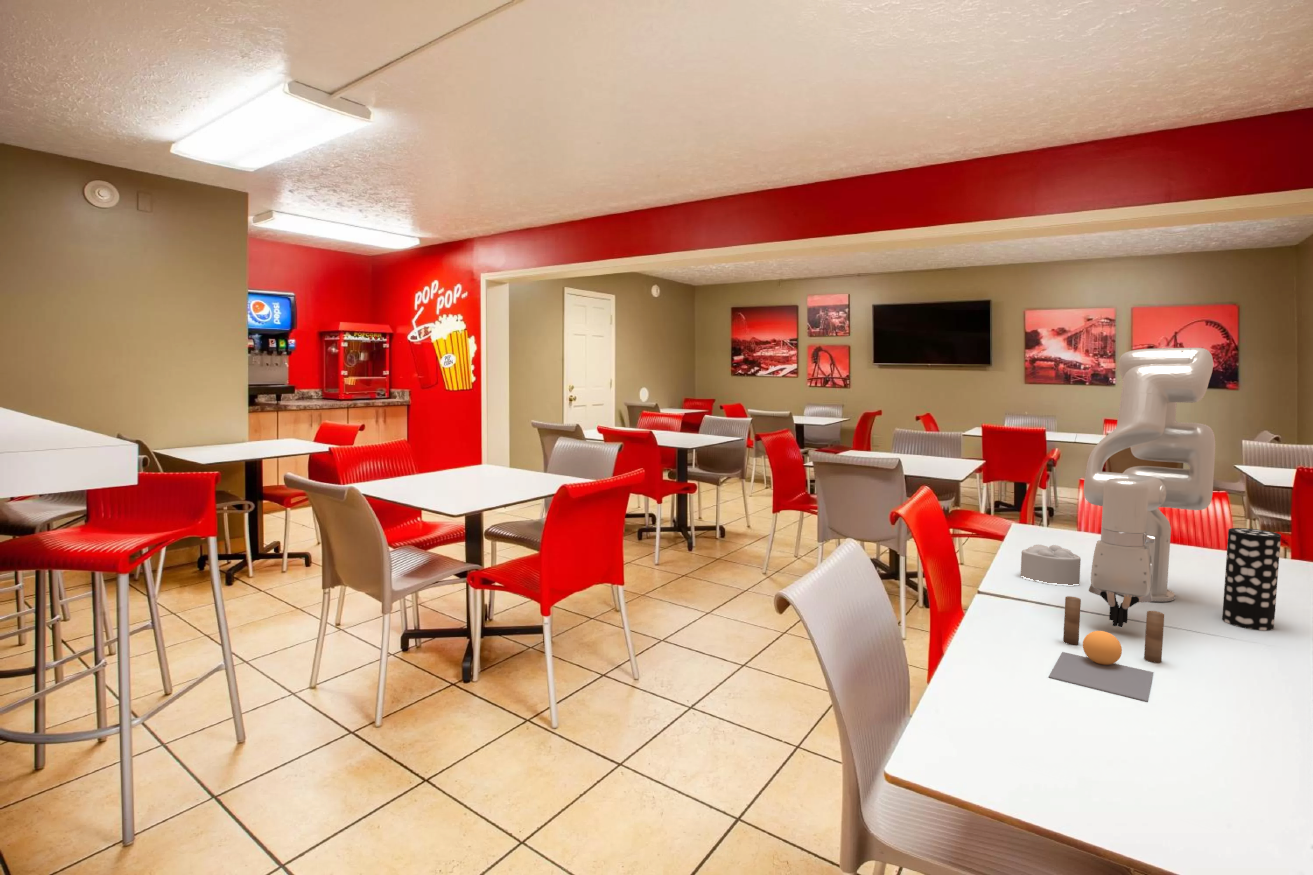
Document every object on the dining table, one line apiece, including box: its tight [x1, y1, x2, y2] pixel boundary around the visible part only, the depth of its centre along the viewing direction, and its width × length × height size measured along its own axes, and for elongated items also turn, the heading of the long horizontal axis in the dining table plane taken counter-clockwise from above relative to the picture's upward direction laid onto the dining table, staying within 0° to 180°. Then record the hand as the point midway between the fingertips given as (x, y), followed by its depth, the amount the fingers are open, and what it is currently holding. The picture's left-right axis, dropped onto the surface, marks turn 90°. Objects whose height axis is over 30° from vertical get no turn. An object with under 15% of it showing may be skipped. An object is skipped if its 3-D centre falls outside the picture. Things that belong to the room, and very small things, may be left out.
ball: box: [1082, 630, 1123, 665], centre depth 121 cm, size 6×6×6 cm
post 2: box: [1143, 610, 1165, 664], centre depth 123 cm, size 3×3×9 cm
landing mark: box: [1048, 651, 1154, 703], centre depth 117 cm, size 14×14×1 cm
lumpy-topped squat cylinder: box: [1020, 544, 1081, 585], centre depth 174 cm, size 10×13×9 cm
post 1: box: [1062, 595, 1082, 646], centre depth 131 cm, size 3×3×9 cm
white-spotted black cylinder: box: [1221, 527, 1282, 631], centre depth 141 cm, size 8×8×20 cm
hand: (1117, 624), depth 137 cm, fingers closed
